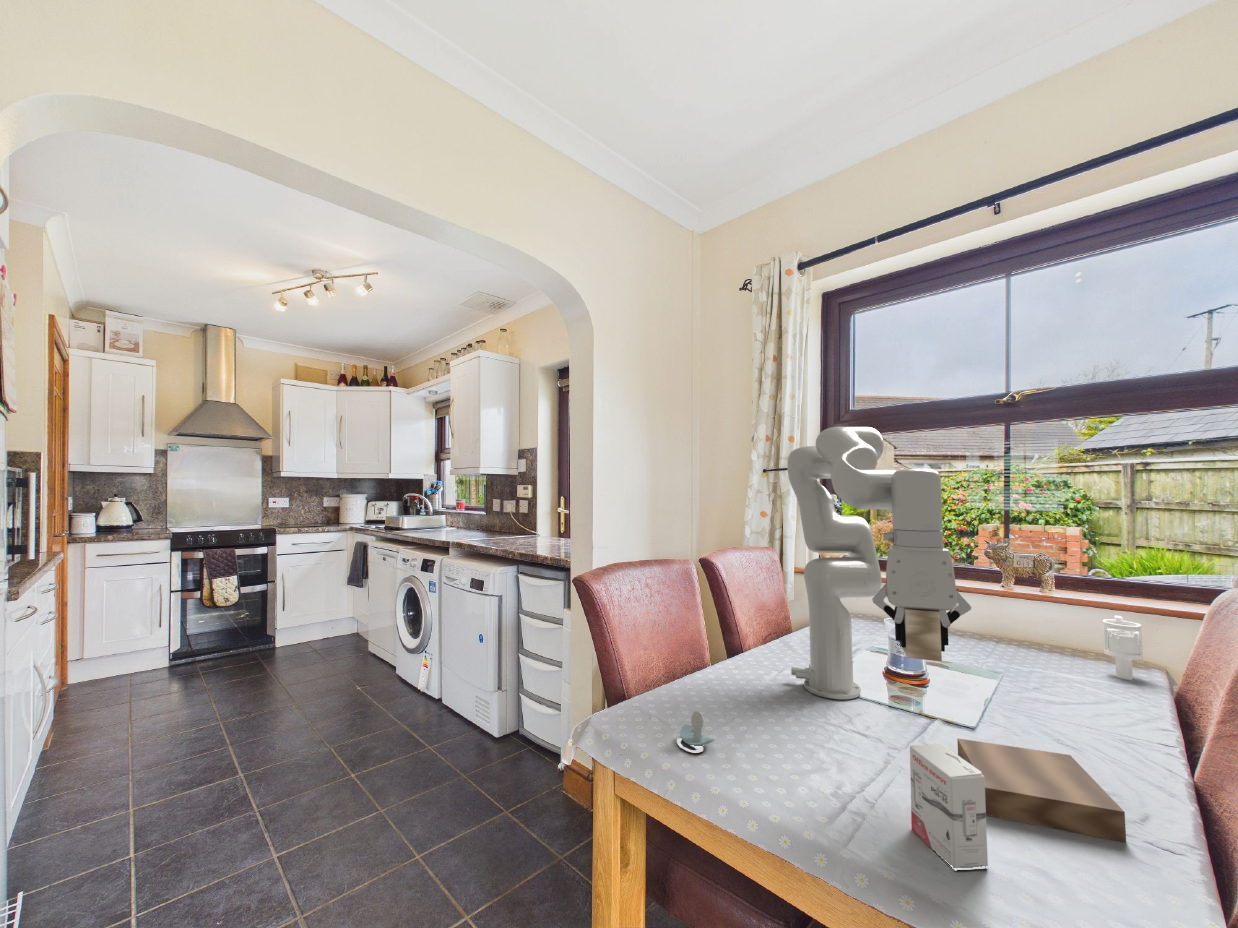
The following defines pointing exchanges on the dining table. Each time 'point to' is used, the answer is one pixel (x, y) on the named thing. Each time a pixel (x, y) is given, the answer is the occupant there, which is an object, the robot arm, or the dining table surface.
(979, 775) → the ink box
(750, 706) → the dining table surface
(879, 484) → the robot arm
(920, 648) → the birch block
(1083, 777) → the walnut base
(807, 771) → the dining table surface
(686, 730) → the pacifier
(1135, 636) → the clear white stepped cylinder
